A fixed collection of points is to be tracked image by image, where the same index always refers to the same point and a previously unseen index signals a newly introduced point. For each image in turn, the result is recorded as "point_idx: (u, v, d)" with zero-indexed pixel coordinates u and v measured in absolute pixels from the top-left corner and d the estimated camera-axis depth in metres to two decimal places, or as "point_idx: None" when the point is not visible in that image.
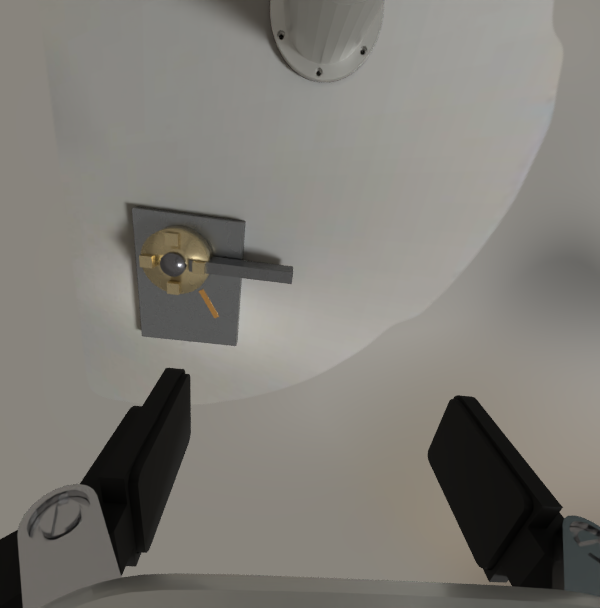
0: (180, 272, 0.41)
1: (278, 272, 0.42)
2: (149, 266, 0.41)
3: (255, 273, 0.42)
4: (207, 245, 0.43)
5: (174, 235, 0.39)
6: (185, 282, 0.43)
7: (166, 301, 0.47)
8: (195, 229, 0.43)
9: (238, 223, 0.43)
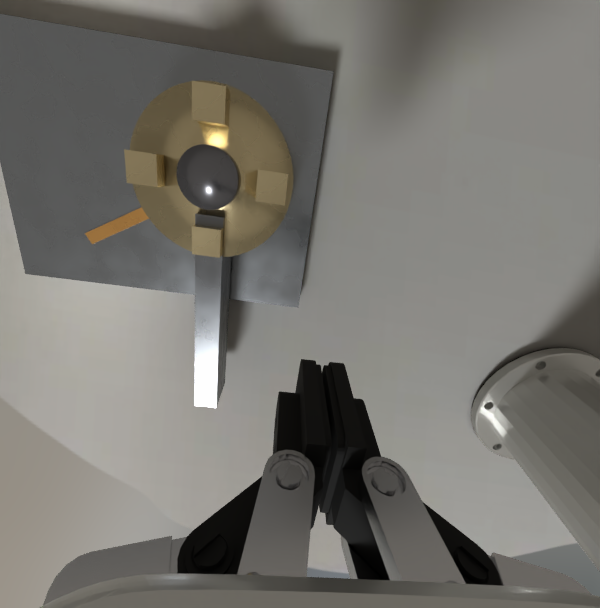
0: (190, 197, 0.17)
1: (213, 386, 0.22)
2: (197, 112, 0.15)
3: (207, 349, 0.21)
4: None
5: (282, 197, 0.17)
6: (165, 197, 0.17)
7: (102, 115, 0.18)
8: (285, 216, 0.21)
9: (297, 298, 0.23)
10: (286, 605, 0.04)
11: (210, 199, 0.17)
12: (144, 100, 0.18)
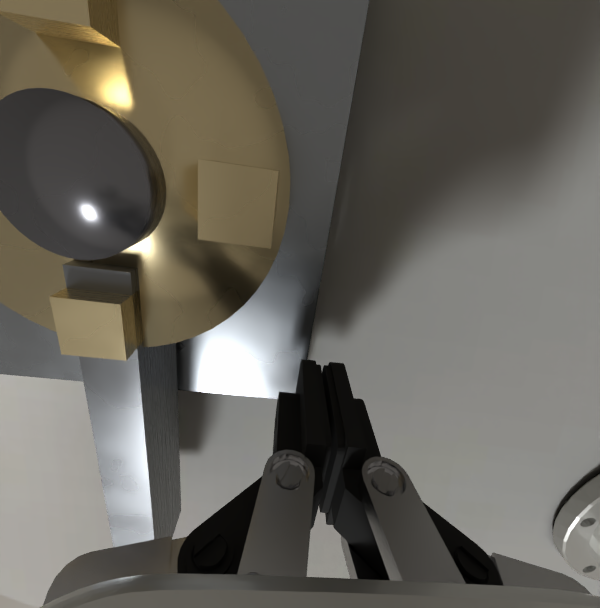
0: (32, 230, 0.07)
1: None
2: None
3: (130, 504, 0.11)
4: None
5: (264, 229, 0.07)
6: None
7: None
8: None
9: None
10: (286, 605, 0.04)
11: (83, 235, 0.07)
12: None
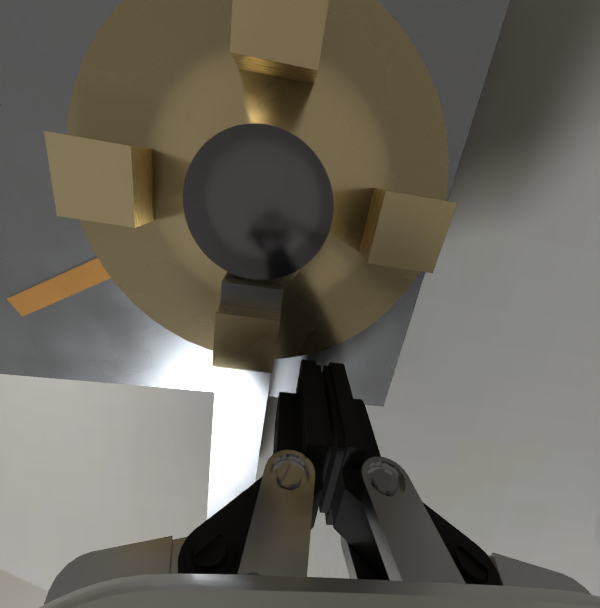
0: (215, 251, 0.07)
1: None
2: (245, 30, 0.05)
3: None
4: None
5: (431, 255, 0.07)
6: (153, 243, 0.08)
7: (17, 67, 0.09)
8: None
9: (384, 393, 0.14)
10: (286, 605, 0.04)
11: (262, 257, 0.07)
12: None
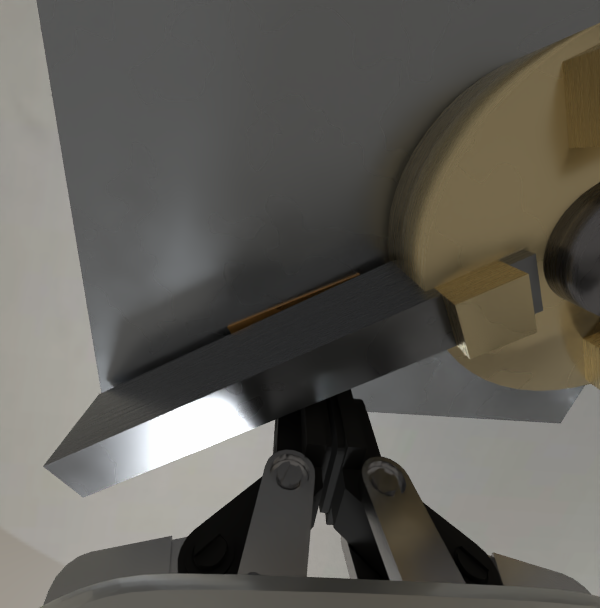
0: None
1: (131, 471, 0.09)
2: None
3: (214, 422, 0.08)
4: None
5: None
6: (540, 160, 0.06)
7: (312, 94, 0.08)
8: None
9: (565, 410, 0.14)
10: (286, 605, 0.04)
11: None
12: (413, 61, 0.08)
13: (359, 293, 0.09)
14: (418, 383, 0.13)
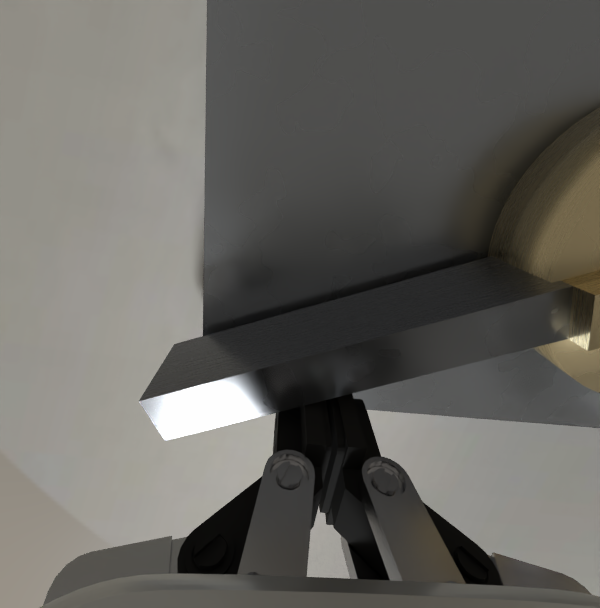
0: None
1: (223, 419, 0.09)
2: None
3: (321, 380, 0.09)
4: None
5: None
6: None
7: (435, 125, 0.09)
8: None
9: None
10: (286, 605, 0.04)
11: None
12: (531, 96, 0.09)
13: (468, 279, 0.09)
14: (496, 389, 0.13)
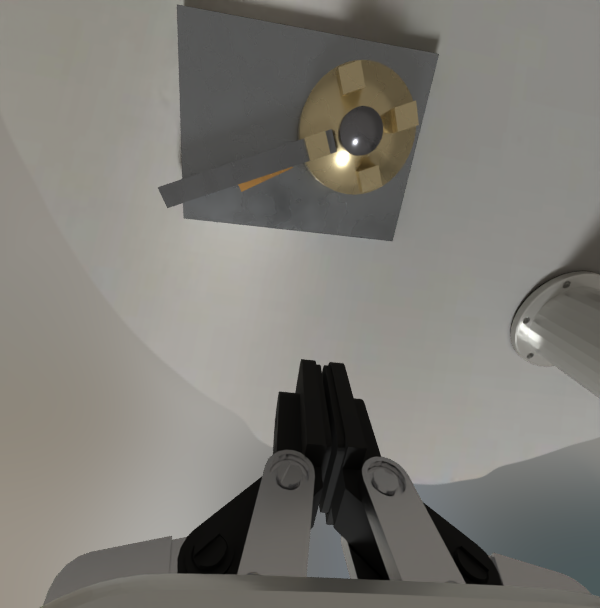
0: (345, 123, 0.22)
1: (189, 197, 0.24)
2: (399, 110, 0.22)
3: (223, 178, 0.24)
4: (316, 179, 0.27)
5: (367, 188, 0.24)
6: (332, 99, 0.23)
7: (265, 87, 0.24)
8: None
9: (392, 233, 0.30)
10: (286, 605, 0.04)
11: (348, 138, 0.23)
12: (299, 76, 0.24)
13: None
14: (321, 215, 0.29)
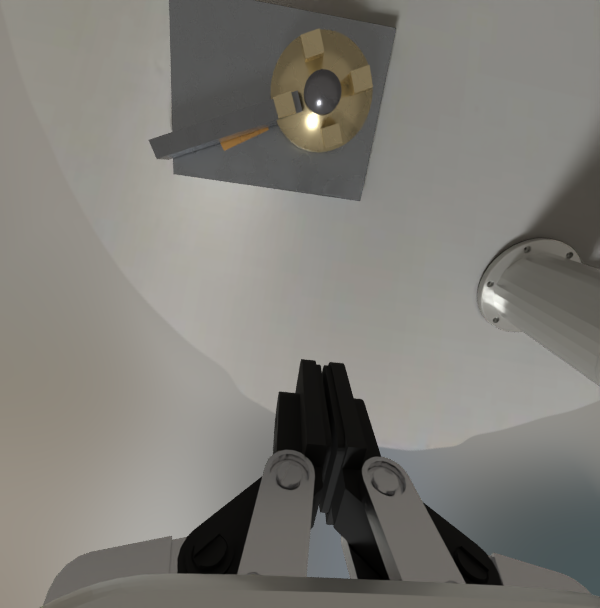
0: (308, 84, 0.26)
1: (175, 149, 0.28)
2: (355, 73, 0.26)
3: (205, 133, 0.28)
4: (288, 139, 0.30)
5: (329, 144, 0.28)
6: (298, 64, 0.26)
7: (244, 56, 0.28)
8: None
9: (360, 193, 0.33)
10: (286, 605, 0.04)
11: (311, 98, 0.26)
12: (273, 47, 0.28)
13: None
14: (294, 174, 0.32)
